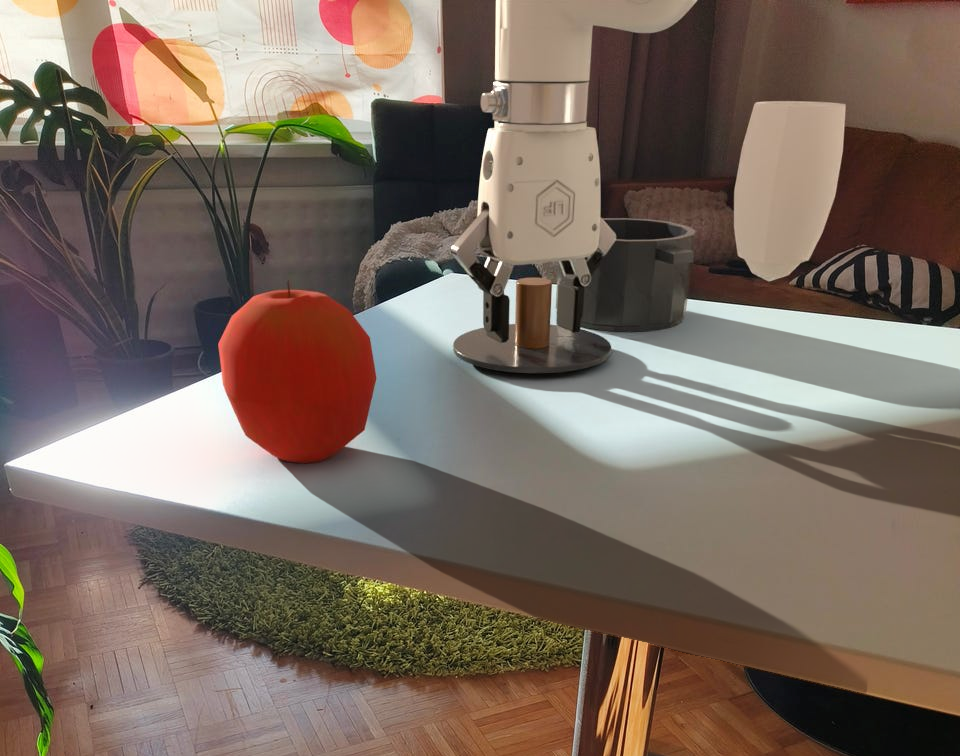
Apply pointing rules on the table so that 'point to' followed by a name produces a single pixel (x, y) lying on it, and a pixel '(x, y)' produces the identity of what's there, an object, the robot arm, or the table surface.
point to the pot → (640, 277)
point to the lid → (533, 339)
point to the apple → (298, 374)
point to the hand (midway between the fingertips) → (533, 332)
